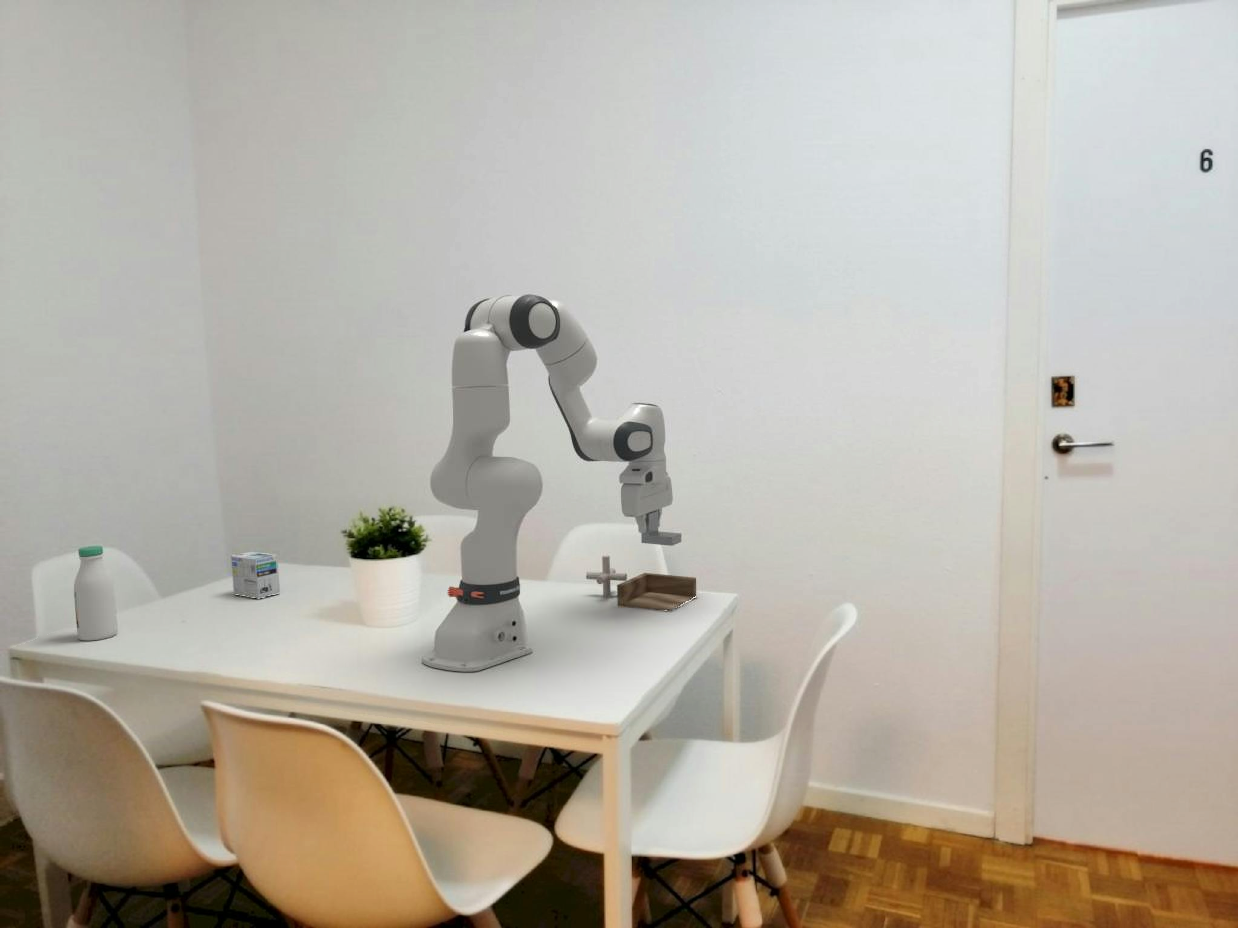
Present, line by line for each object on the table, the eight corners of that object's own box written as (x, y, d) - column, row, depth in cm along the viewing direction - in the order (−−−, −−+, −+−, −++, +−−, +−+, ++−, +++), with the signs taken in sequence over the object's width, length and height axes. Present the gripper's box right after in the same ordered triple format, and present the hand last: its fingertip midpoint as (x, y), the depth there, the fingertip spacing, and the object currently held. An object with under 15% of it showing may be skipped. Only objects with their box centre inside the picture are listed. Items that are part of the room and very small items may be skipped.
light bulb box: (281, 594, 235) (278, 553, 234) (258, 600, 229) (255, 558, 228) (255, 590, 240) (252, 550, 239) (232, 595, 235) (229, 555, 234)
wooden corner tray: (670, 611, 207) (670, 590, 206) (617, 605, 214) (617, 584, 213) (696, 597, 219) (696, 577, 218) (645, 592, 226) (644, 572, 225)
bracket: (641, 542, 212) (641, 513, 211) (650, 538, 217) (650, 510, 216) (672, 545, 208) (672, 515, 208) (681, 541, 213) (681, 512, 212)
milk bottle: (126, 632, 202) (118, 544, 200) (97, 642, 195) (89, 551, 193) (98, 630, 205) (90, 543, 203) (69, 640, 197) (61, 550, 195)
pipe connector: (581, 600, 220) (579, 559, 219) (594, 590, 229) (593, 551, 228) (620, 602, 217) (619, 561, 216) (632, 592, 226) (630, 552, 225)
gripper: (654, 466, 223) (656, 521, 224) (615, 476, 205) (617, 536, 206) (678, 467, 220) (679, 523, 221) (640, 477, 202) (642, 538, 203)
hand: (649, 529), depth 214 cm, fingers closed on bracket, 5 cm apart
